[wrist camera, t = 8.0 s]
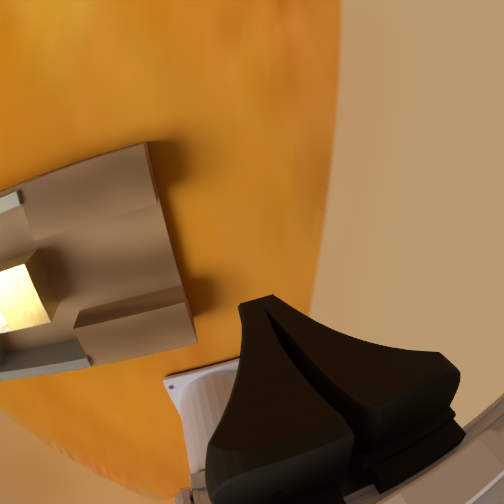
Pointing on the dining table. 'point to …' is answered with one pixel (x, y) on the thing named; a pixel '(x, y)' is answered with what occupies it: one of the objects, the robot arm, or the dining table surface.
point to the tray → (42, 357)
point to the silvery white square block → (3, 324)
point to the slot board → (101, 258)
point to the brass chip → (26, 291)
